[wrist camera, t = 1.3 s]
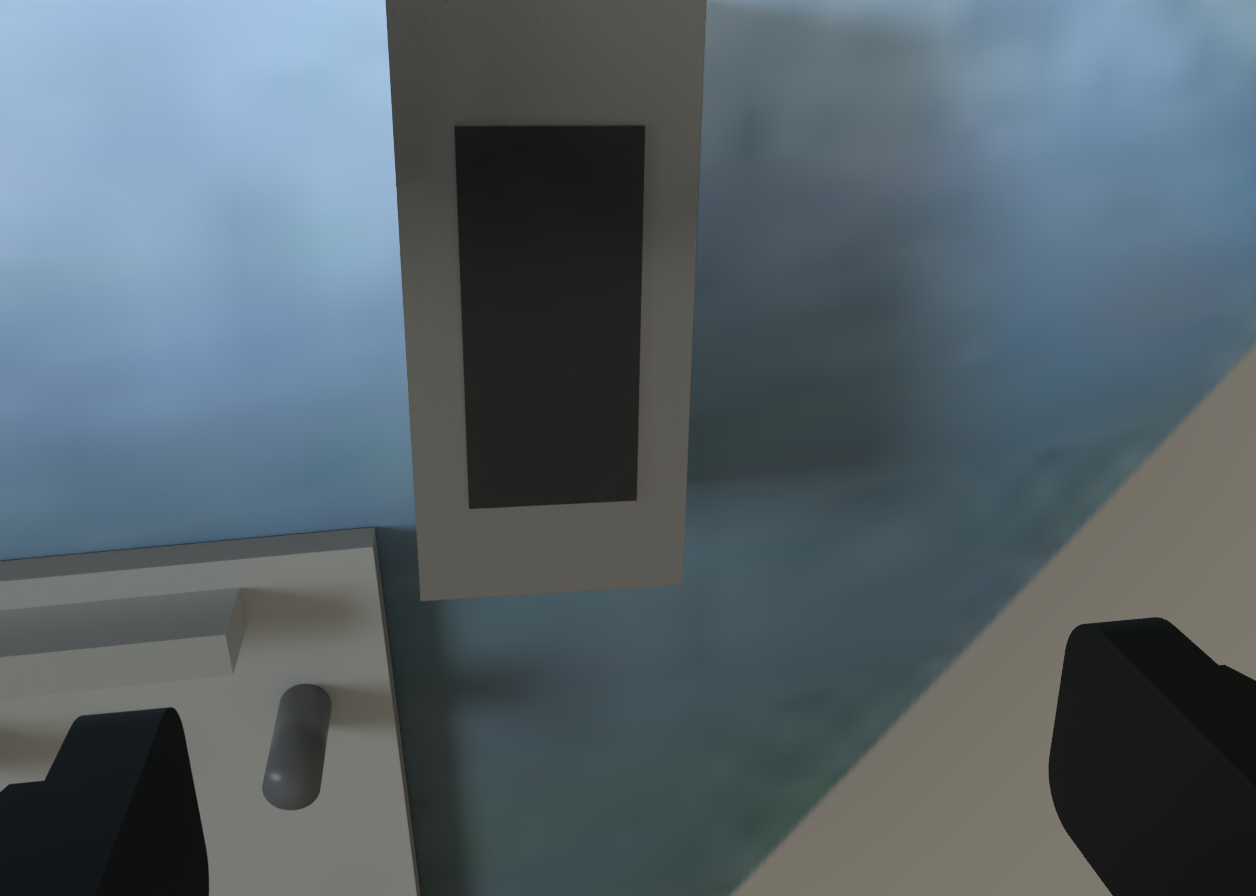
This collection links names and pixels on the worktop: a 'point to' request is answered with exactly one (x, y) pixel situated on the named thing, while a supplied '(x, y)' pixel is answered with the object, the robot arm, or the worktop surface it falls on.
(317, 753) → the tray
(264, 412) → the worktop surface
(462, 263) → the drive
